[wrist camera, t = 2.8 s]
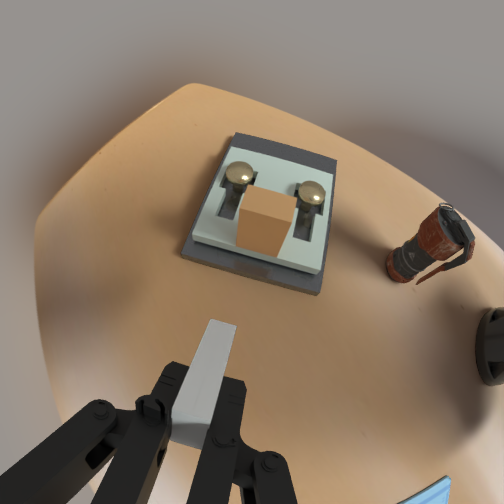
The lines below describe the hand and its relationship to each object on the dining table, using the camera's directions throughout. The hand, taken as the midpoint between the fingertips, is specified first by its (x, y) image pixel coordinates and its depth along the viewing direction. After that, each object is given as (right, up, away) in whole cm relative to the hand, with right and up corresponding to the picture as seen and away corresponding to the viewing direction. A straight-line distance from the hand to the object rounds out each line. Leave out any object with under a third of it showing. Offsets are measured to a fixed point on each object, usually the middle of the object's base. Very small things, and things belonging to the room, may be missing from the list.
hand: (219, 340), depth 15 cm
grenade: (+24, +2, +22) cm, 33 cm away
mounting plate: (+5, +12, +25) cm, 28 cm away
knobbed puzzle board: (+4, +11, +22) cm, 25 cm away
